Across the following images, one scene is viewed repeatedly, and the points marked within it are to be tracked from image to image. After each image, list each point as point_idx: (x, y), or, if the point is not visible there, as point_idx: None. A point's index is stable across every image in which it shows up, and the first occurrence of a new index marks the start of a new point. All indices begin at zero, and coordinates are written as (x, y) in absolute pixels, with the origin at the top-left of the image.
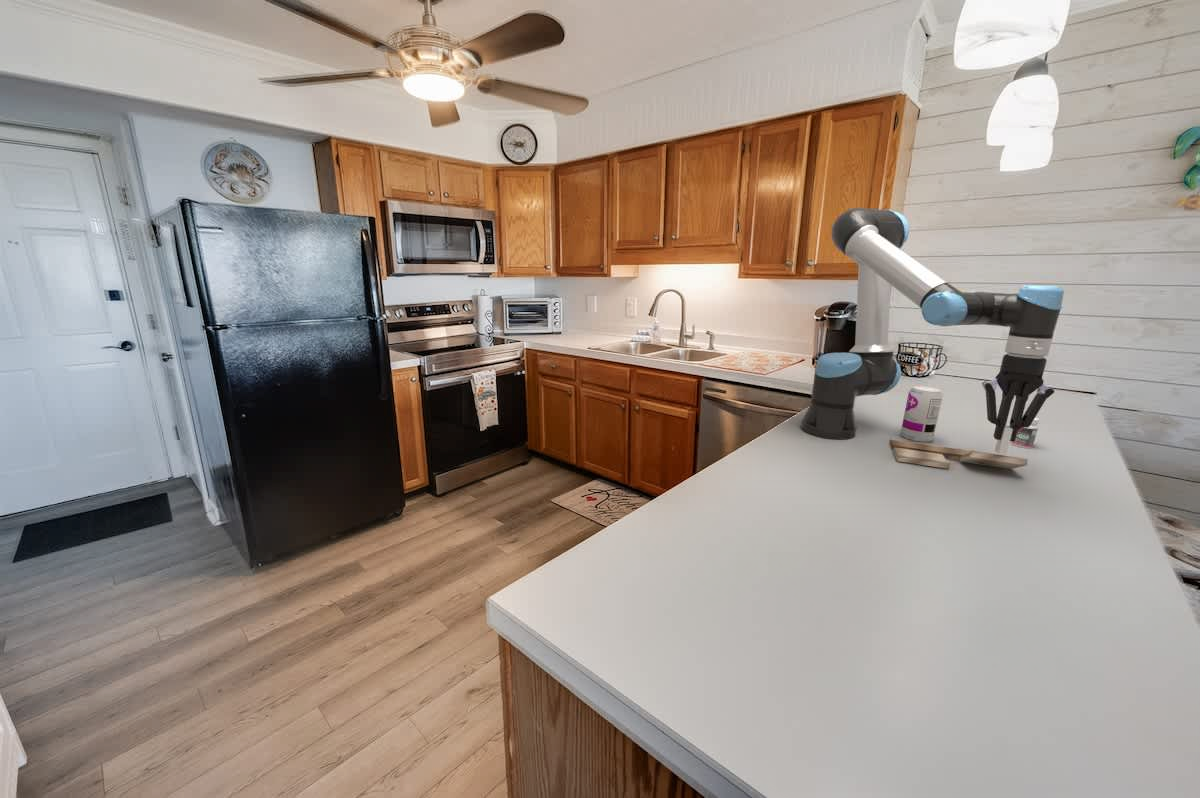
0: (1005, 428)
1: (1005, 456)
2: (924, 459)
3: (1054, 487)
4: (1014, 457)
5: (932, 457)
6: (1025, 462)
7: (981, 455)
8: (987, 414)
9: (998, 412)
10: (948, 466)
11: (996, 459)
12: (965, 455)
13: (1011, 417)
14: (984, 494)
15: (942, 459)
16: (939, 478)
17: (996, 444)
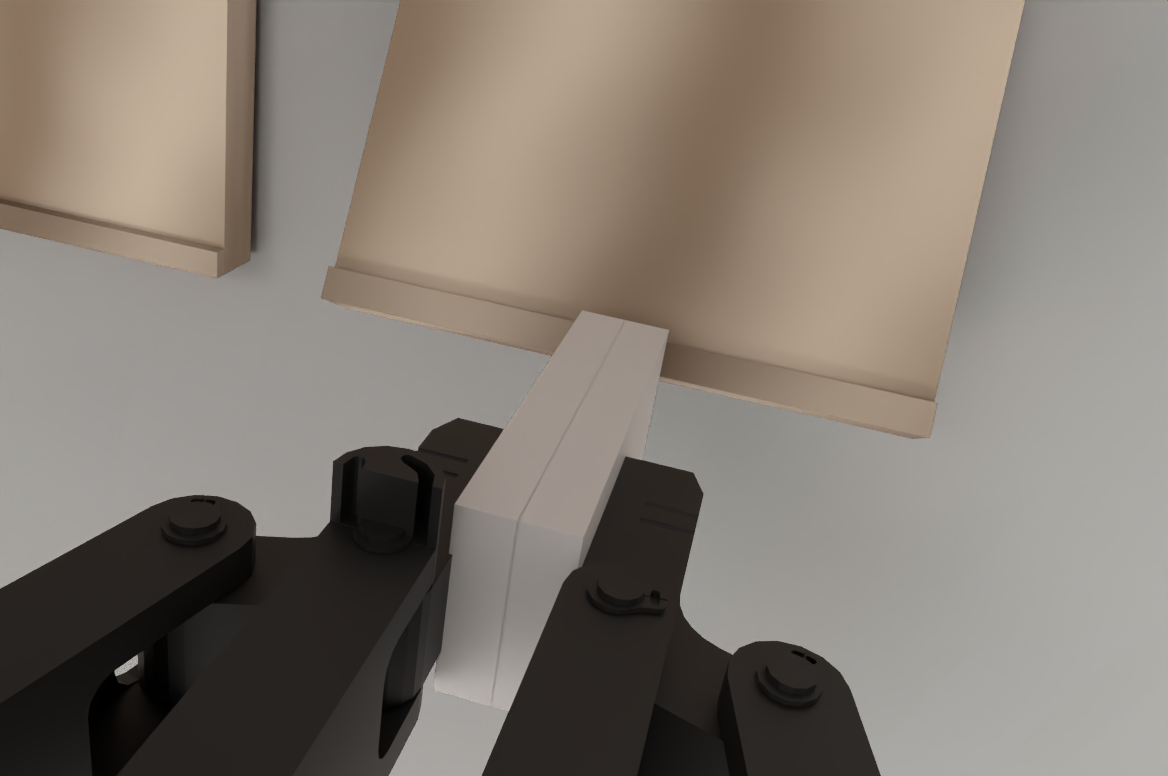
0: (440, 690)
1: (686, 383)
2: (2, 226)
3: (1130, 472)
4: (785, 402)
5: (98, 83)
6: (898, 434)
7: (442, 327)
8: (59, 577)
9: (213, 664)
10: (229, 265)
11: None
12: (381, 106)
13: (523, 693)
14: None
15: (186, 123)
16: (145, 471)
17: (559, 351)
